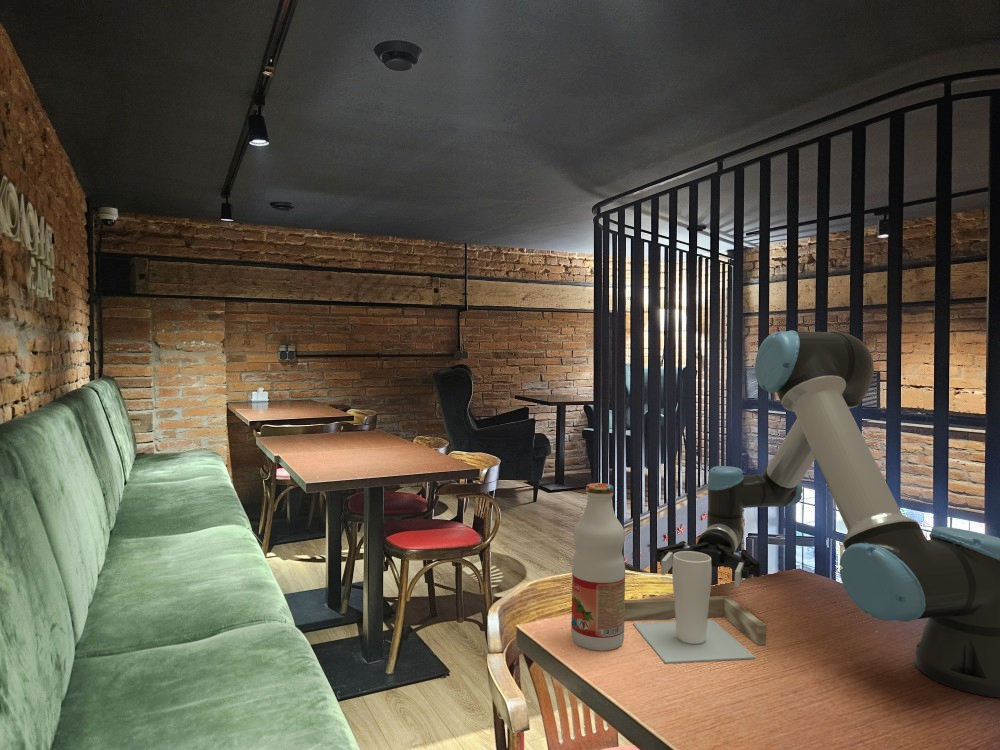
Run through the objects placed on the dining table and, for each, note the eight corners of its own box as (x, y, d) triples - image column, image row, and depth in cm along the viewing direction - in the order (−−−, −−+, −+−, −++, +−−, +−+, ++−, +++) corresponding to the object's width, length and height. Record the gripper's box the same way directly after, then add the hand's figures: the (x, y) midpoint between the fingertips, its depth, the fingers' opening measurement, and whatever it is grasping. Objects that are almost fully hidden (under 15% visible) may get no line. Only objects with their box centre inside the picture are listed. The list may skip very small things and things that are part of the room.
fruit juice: (623, 654, 112) (626, 491, 111) (568, 649, 114) (570, 489, 113) (624, 632, 121) (627, 481, 121) (573, 627, 123) (575, 479, 123)
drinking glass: (665, 640, 117) (667, 557, 117) (678, 628, 123) (680, 548, 122) (703, 650, 113) (705, 564, 113) (715, 637, 119) (716, 555, 119)
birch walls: (766, 644, 117) (766, 625, 117) (638, 651, 114) (639, 631, 113) (727, 613, 131) (727, 595, 131) (613, 618, 128) (613, 600, 128)
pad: (755, 659, 111) (755, 657, 111) (665, 663, 109) (665, 661, 109) (712, 621, 127) (712, 619, 127) (633, 624, 125) (633, 623, 125)
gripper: (778, 571, 138) (769, 605, 119) (659, 554, 149) (634, 582, 130) (779, 536, 137) (770, 563, 119) (660, 521, 149) (634, 544, 130)
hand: (699, 573), depth 124 cm, fingers open, 13 cm apart
